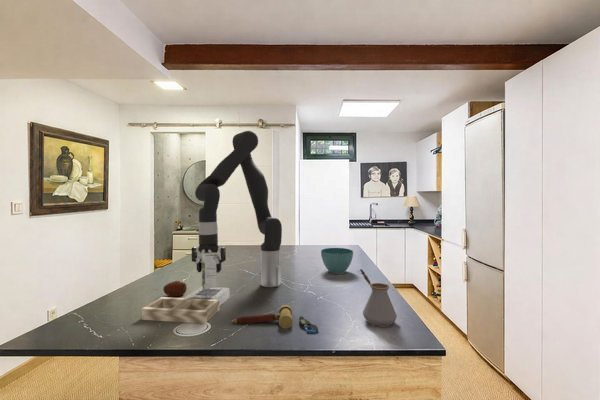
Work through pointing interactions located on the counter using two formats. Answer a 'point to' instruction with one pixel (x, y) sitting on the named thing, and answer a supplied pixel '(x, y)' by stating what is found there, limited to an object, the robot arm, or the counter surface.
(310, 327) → the micrometer
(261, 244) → the robot arm
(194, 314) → the rack
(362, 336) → the counter surface
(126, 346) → the counter surface
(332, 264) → the teal bowl
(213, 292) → the socket block
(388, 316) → the coffee pot
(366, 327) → the counter surface
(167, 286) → the potato
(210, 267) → the syrup box
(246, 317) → the gavel
